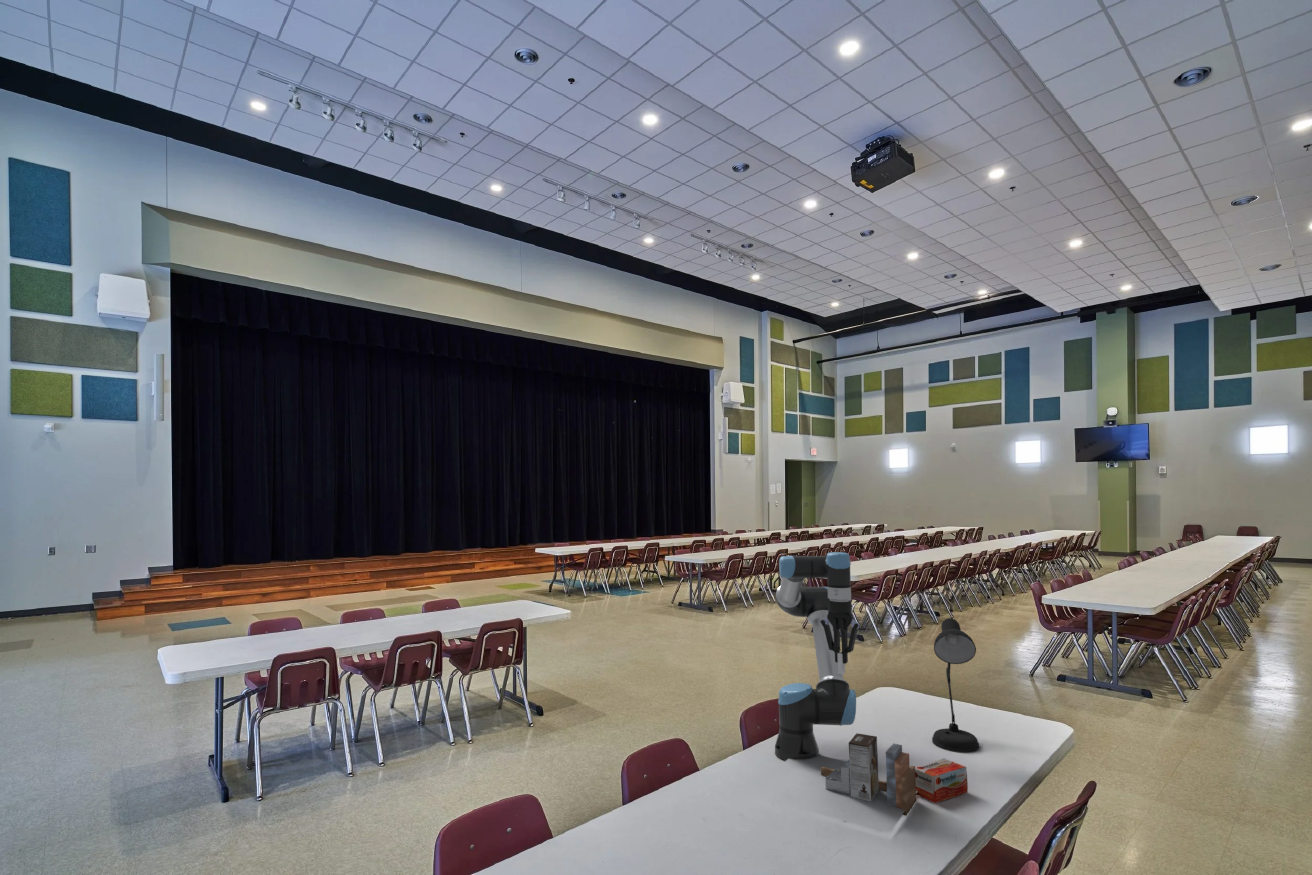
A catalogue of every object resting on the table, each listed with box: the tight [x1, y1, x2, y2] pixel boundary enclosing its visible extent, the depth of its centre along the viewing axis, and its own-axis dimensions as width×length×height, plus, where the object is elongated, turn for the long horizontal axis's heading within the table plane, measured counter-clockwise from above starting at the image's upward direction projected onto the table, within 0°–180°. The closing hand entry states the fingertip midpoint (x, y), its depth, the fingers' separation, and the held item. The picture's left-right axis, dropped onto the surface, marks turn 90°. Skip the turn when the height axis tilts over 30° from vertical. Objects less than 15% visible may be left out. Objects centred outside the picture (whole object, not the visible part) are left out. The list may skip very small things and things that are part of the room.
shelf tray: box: [820, 743, 917, 817], centre depth 201 cm, size 29×11×16 cm, turn 55°
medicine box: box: [915, 757, 969, 804], centre depth 202 cm, size 15×8×8 cm, turn 119°
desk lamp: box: [931, 617, 980, 753], centre depth 242 cm, size 24×26×45 cm
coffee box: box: [848, 733, 880, 802], centre depth 200 cm, size 9×6×16 cm
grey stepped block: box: [824, 759, 851, 796], centre depth 204 cm, size 8×8×8 cm
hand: (841, 672), depth 217 cm, fingers closed
